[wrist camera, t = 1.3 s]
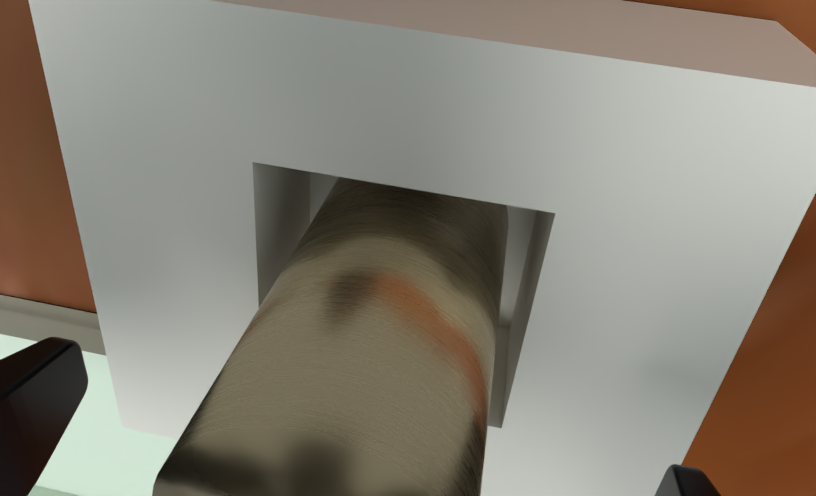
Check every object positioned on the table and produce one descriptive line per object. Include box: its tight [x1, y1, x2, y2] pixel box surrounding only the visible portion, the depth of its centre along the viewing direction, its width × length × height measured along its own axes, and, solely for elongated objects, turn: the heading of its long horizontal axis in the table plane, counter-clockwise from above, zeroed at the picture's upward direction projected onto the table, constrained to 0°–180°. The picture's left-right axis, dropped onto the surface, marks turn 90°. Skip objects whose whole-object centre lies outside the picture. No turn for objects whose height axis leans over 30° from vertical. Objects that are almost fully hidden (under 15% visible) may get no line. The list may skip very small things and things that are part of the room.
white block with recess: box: [28, 0, 816, 496], centre depth 14 cm, size 12×10×4 cm
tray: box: [0, 295, 178, 496], centre depth 21 cm, size 10×9×2 cm
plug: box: [152, 177, 509, 496], centre depth 11 cm, size 4×4×8 cm
